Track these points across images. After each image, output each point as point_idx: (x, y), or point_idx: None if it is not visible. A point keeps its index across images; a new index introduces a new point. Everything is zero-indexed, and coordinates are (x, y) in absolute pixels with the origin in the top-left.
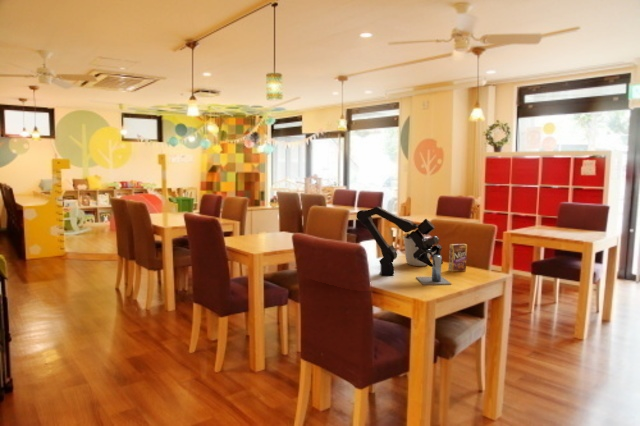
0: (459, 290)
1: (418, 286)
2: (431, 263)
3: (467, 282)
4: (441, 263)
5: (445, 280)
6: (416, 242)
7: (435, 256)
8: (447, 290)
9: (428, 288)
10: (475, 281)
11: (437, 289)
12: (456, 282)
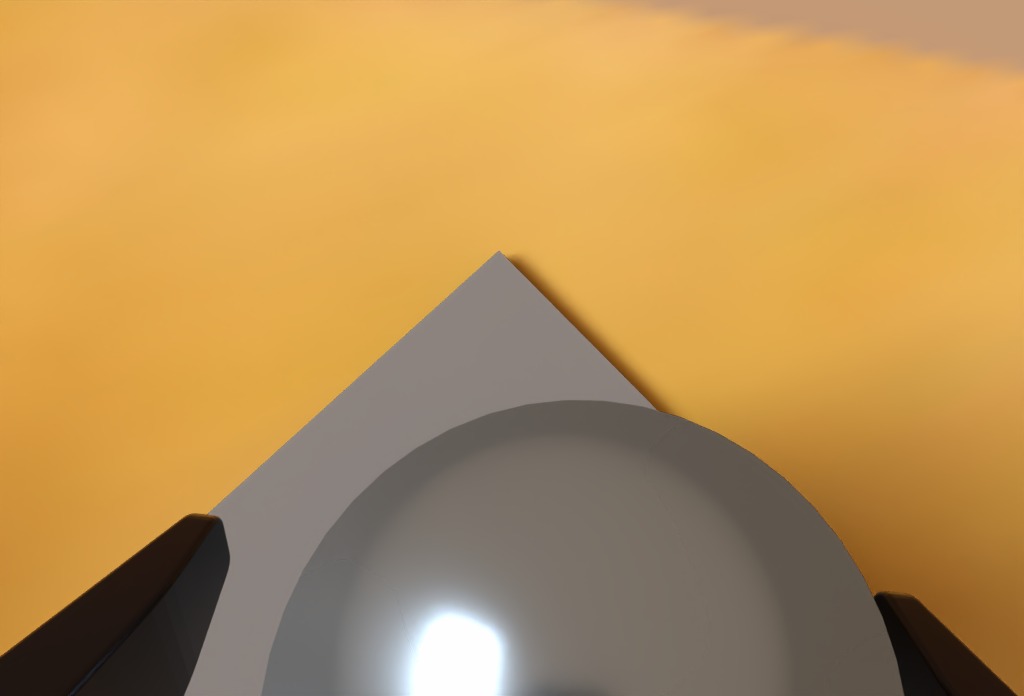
0: (736, 33)
1: (1021, 647)
2: (962, 668)
3: (170, 120)
4: (221, 562)
5: (358, 424)
6: None
7: (894, 689)
8: (870, 161)
9: (997, 442)
10: (19, 49)
11: (937, 301)
12: (288, 255)
